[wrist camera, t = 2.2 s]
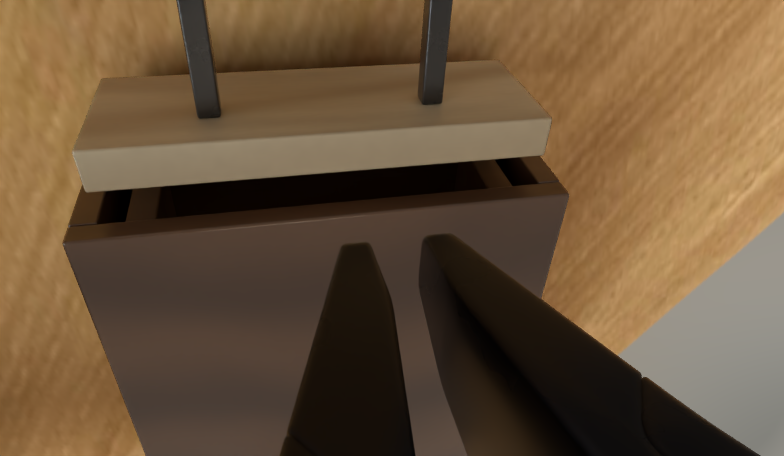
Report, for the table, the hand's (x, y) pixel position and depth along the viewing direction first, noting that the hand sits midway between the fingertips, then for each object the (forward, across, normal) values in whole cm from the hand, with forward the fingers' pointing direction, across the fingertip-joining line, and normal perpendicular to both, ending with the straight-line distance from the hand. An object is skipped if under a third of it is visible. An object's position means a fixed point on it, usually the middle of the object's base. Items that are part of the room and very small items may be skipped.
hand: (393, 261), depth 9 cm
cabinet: (+12, 0, +11) cm, 17 cm away
